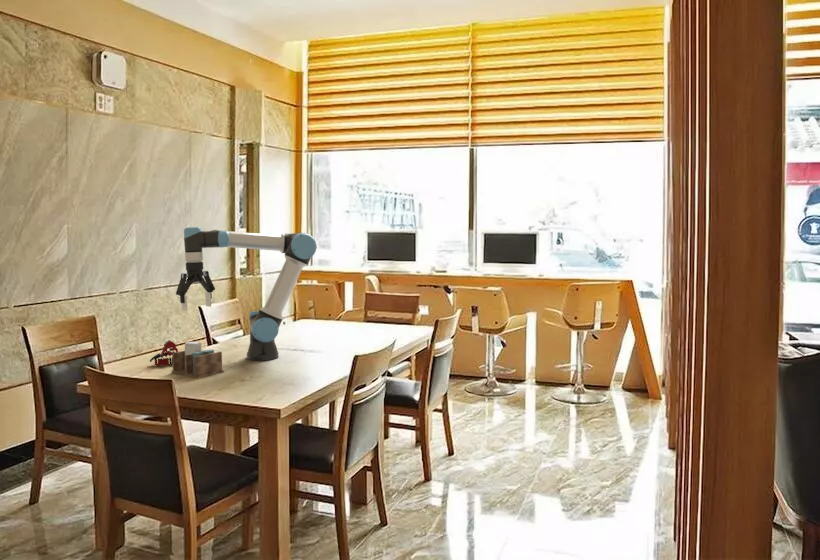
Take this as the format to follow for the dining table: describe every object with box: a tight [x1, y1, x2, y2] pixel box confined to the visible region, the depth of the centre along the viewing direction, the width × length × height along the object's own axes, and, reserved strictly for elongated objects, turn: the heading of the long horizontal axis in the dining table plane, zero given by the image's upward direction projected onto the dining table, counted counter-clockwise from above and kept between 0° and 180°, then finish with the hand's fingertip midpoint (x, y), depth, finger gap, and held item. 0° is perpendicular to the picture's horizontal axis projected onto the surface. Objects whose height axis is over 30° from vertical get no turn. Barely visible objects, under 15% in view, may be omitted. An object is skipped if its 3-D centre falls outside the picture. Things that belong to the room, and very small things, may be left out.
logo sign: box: [149, 339, 179, 367], centre depth 330 cm, size 18×4×11 cm, turn 117°
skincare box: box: [184, 341, 202, 355], centre depth 314 cm, size 6×4×12 cm
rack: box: [171, 349, 225, 379], centre depth 312 cm, size 14×18×10 cm
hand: (196, 308), depth 321 cm, fingers open, 13 cm apart
